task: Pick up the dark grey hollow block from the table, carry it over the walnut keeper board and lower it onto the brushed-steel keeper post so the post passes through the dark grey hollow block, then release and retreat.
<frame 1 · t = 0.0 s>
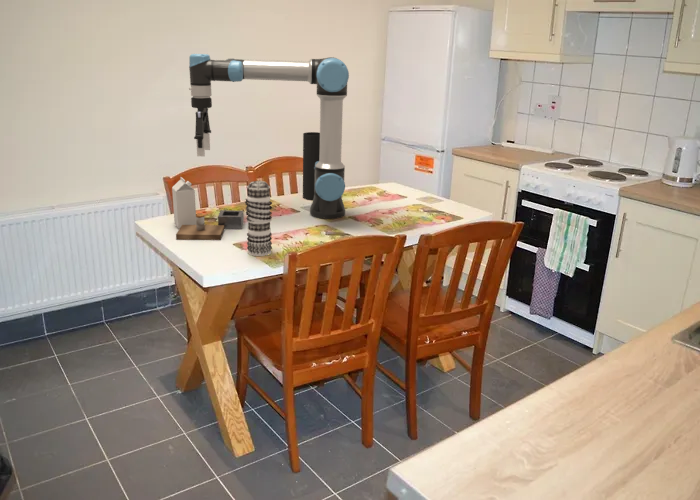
hand: (203, 153, 236), 28 cm above the table, fingers open, 13 cm apart
milk carton: (185, 226, 240), on the table
vase: (313, 197, 288), on the table
decorative candle: (259, 252, 214), on the table
keeper: (200, 234, 229), on the table
dark grey hollow block: (231, 225, 242), on the table
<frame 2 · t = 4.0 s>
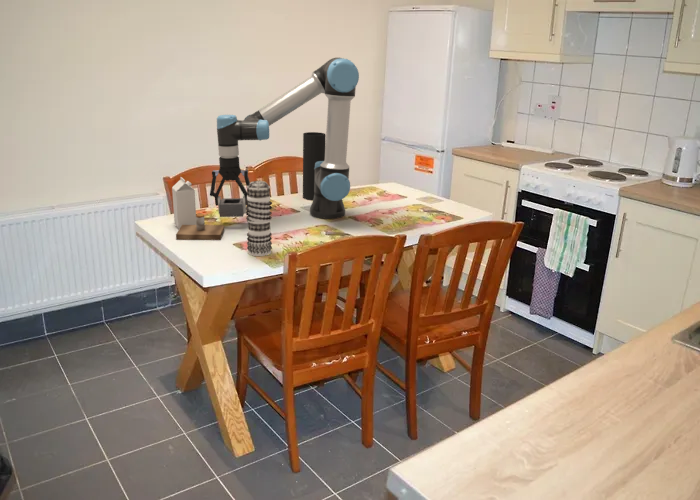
hand: (232, 212, 240), 5 cm above the table, fingers closed on dark grey hollow block, 9 cm apart
dark grey hollow block: (232, 213, 240), point 5 cm above the table, touching gripper
everything else where it was.
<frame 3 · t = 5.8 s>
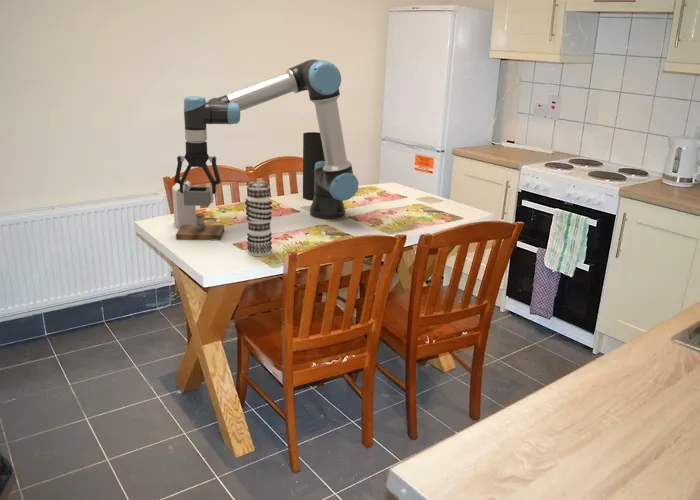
hand: (198, 201, 225), 13 cm above the table, fingers closed on dark grey hollow block, 9 cm apart
dark grey hollow block: (198, 202, 225), point 13 cm above the table, touching gripper
everything else where it was.
when the fingers open (3 cm above the table, at t = 7.6 s): dark grey hollow block stays where it is, resting on keeper.
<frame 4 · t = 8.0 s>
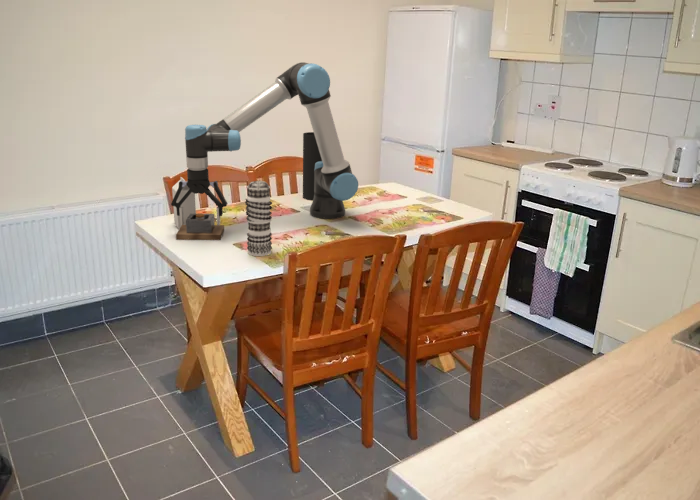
hand: (200, 224, 228), 4 cm above the table, fingers open, 13 cm apart
dark grey hollow block: (200, 229, 229), point 2 cm above the table, touching keeper
everything else where it was.
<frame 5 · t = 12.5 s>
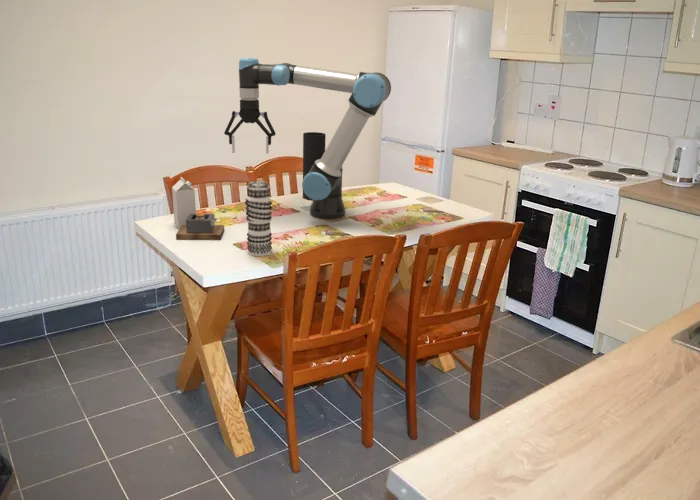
hand: (250, 152, 246), 27 cm above the table, fingers open, 13 cm apart
nothing on the table moved.
at the end: dark grey hollow block 0.1 cm from the keeper (horizontally); dark grey hollow block point 2.0 cm above the table; the gripper is holding nothing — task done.
